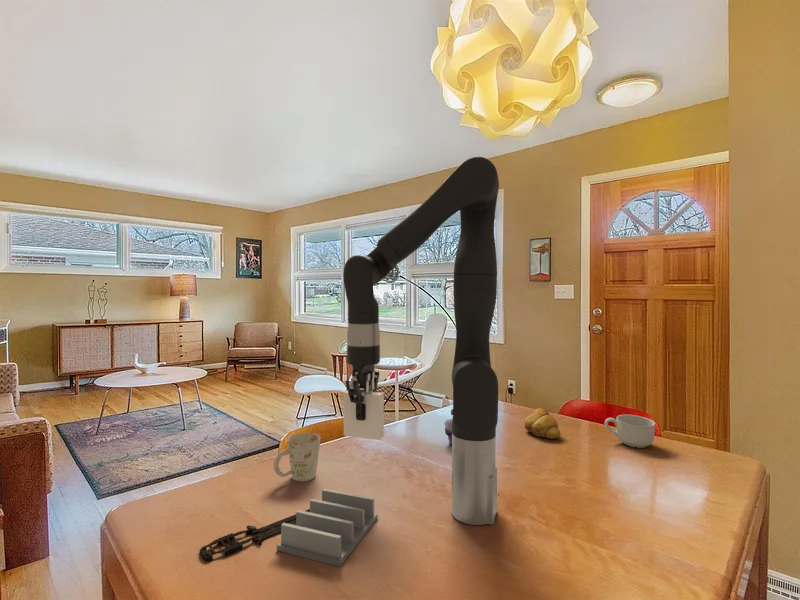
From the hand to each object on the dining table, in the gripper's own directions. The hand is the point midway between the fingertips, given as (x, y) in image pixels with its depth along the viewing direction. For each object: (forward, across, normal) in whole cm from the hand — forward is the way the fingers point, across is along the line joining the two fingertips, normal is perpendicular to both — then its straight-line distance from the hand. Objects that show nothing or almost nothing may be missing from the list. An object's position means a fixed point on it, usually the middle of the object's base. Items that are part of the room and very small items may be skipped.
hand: (363, 417), depth 95 cm
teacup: (+19, +62, -64) cm, 91 cm away
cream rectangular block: (+4, 0, 0) cm, 4 cm away
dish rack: (+19, -15, 0) cm, 24 cm away
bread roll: (+19, +61, -38) cm, 74 cm away
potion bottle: (+19, +42, -13) cm, 48 cm away
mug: (+19, +3, +20) cm, 28 cm away
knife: (+19, -18, +12) cm, 29 cm away
